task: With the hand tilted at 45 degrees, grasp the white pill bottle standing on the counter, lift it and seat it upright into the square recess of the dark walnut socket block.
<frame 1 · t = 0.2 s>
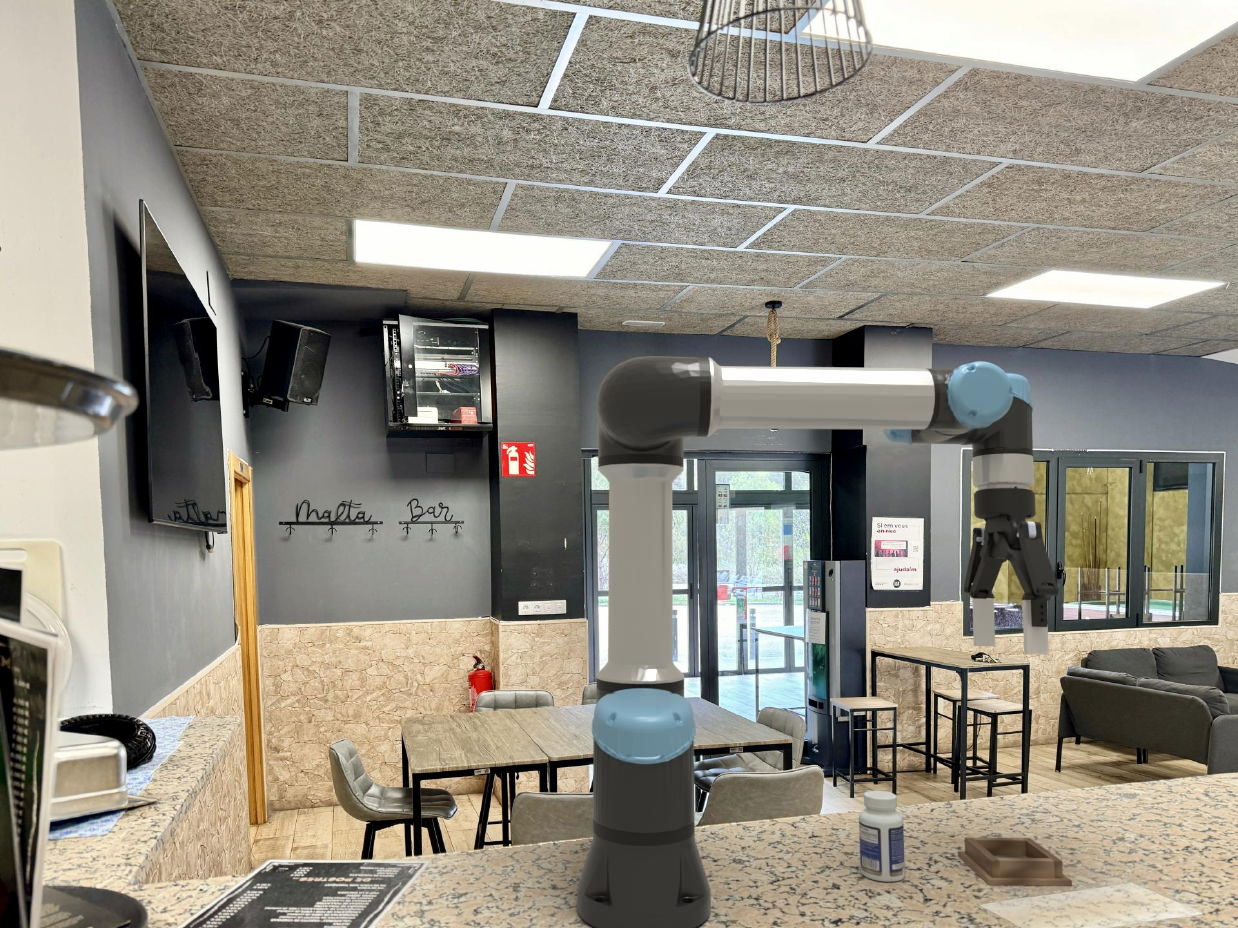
hand: (1008, 650, 112), 27 cm above the worktop, tool pointing down, fingers open, 13 cm apart
pill bottle: (882, 876, 107), on the worktop
socket block: (1012, 869, 108), on the worktop
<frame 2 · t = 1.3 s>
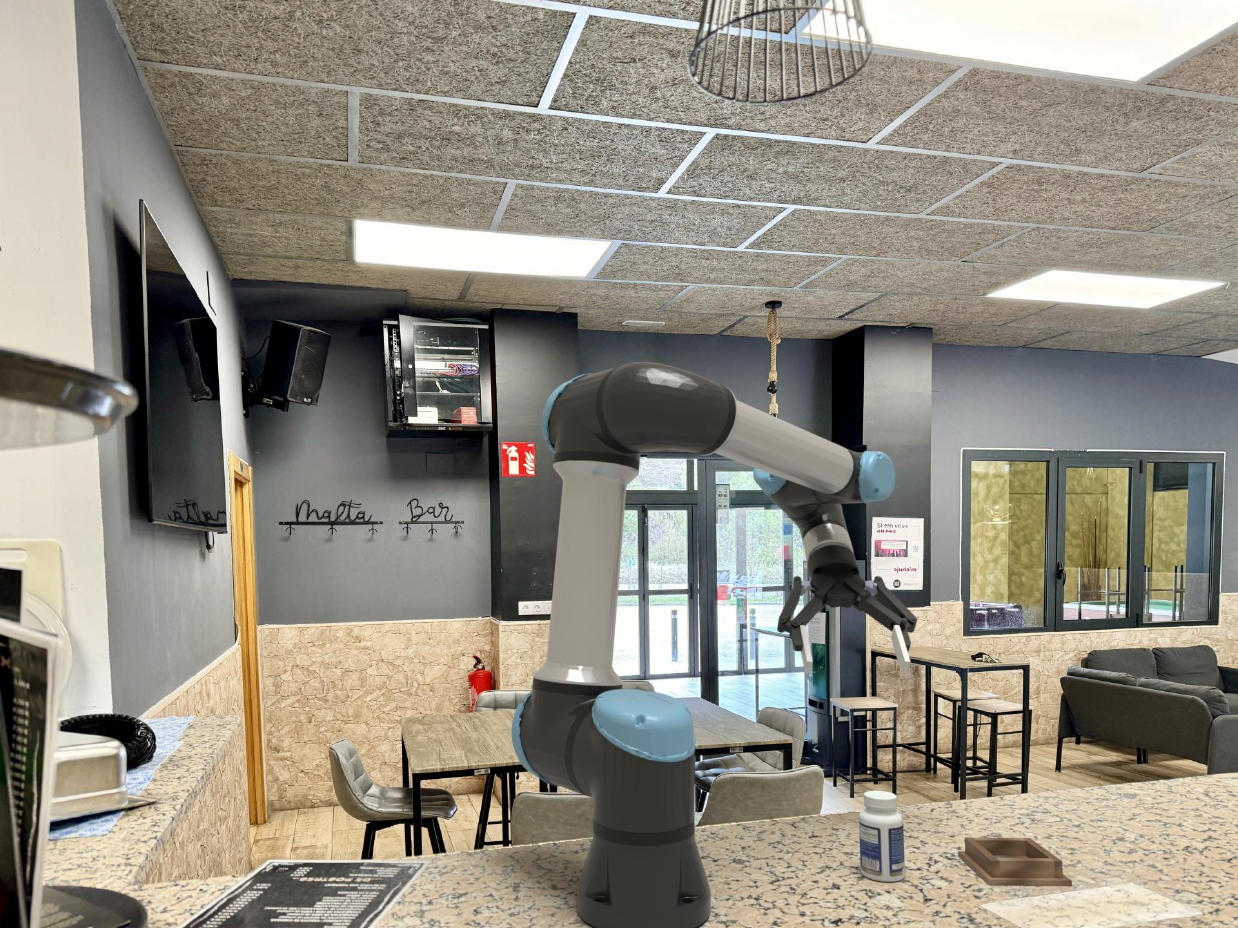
hand: (857, 667, 120), 24 cm above the worktop, tool tilted 45°, fingers open, 13 cm apart
nothing on the worktop moved.
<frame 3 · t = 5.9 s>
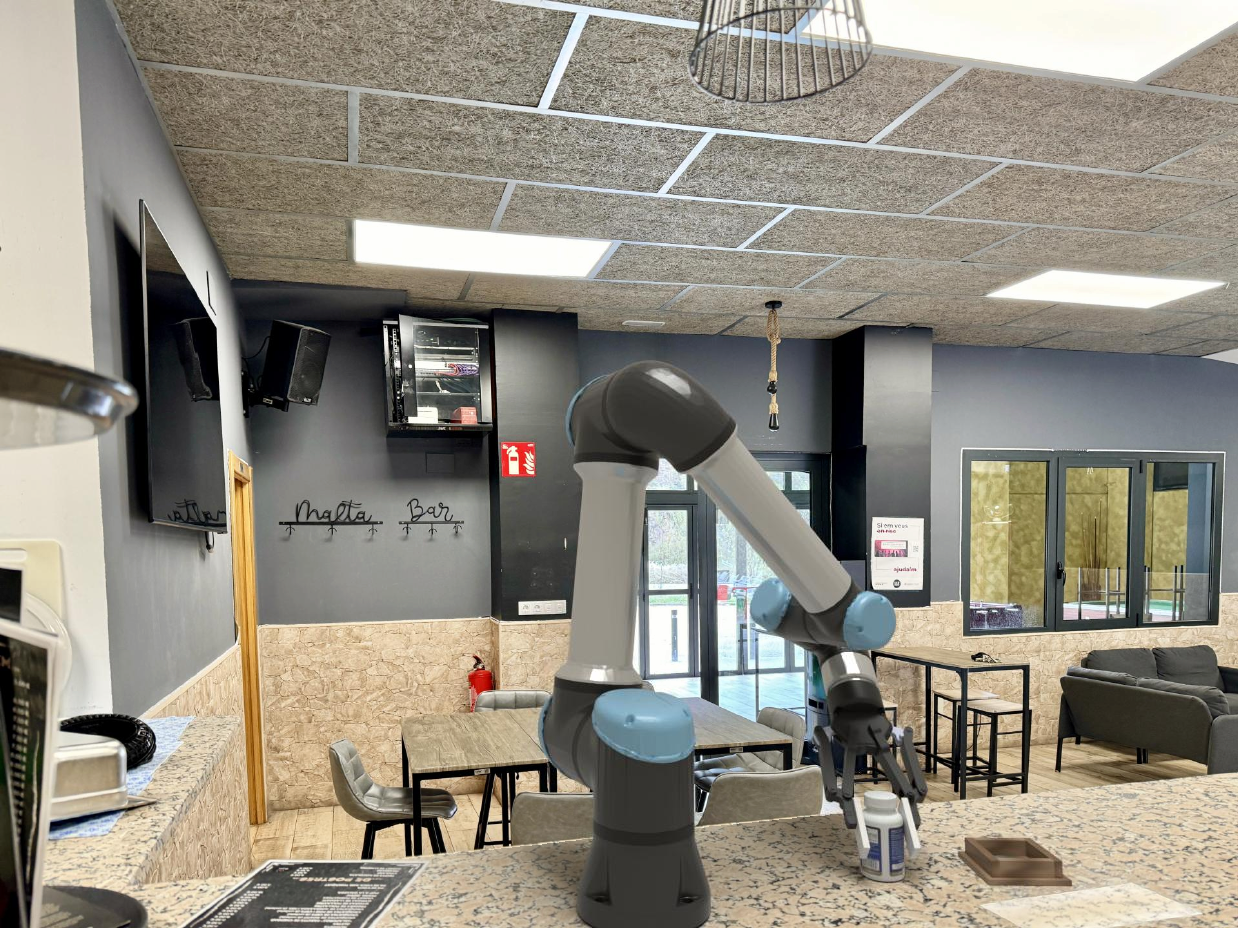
hand: (890, 852, 103), 4 cm above the worktop, tool tilted 45°, fingers closed on pill bottle, 5 cm apart
pill bottle: (882, 876, 106), on the worktop, touching gripper
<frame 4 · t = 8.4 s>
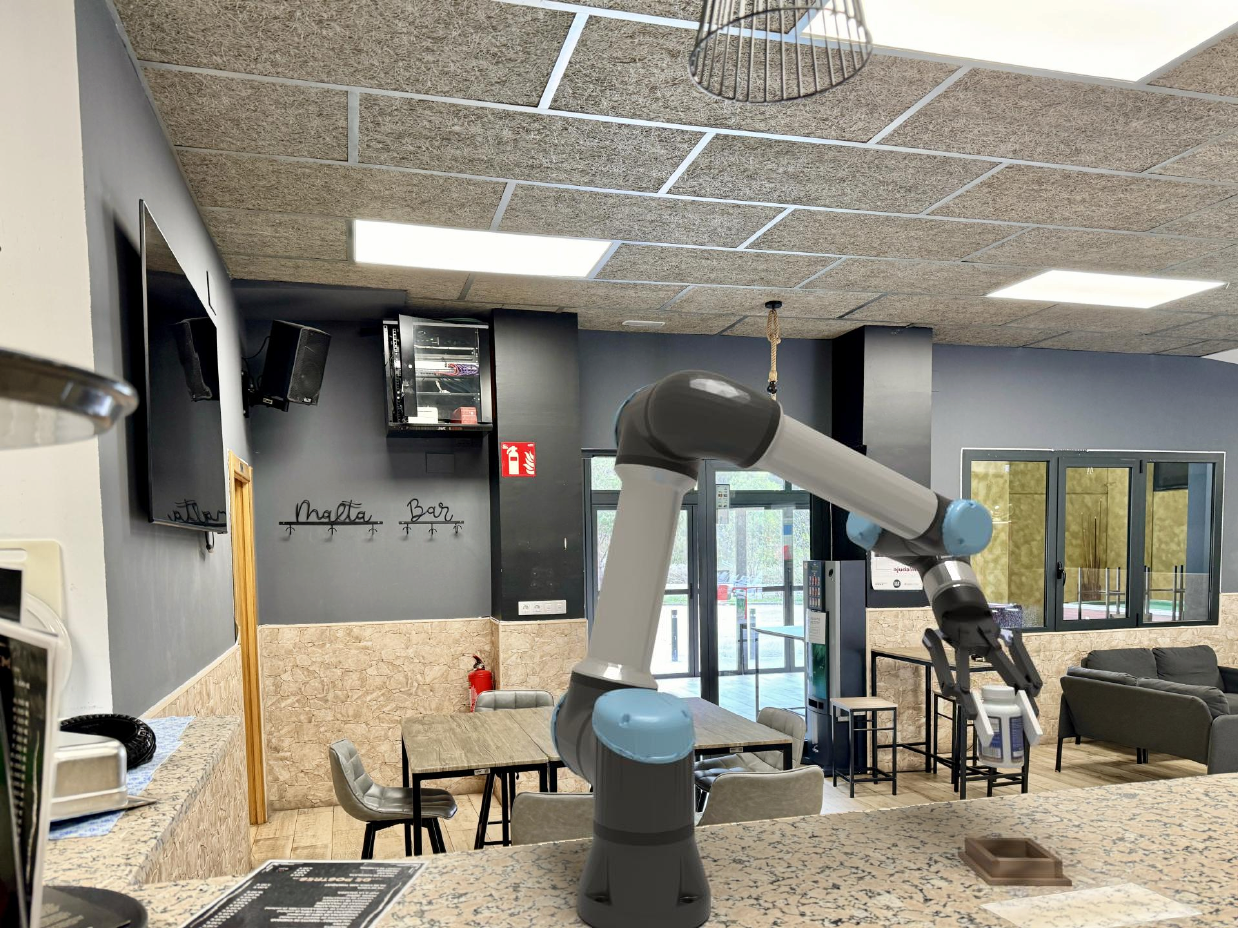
hand: (1012, 739, 106), 17 cm above the worktop, tool tilted 45°, fingers closed on pill bottle, 5 cm apart
pill bottle: (1001, 765, 110), point 13 cm above the worktop, touching gripper
when the fingers open (6 cm above the worktop, at t = 11.2 s): pill bottle stays where it is, resting on socket block.
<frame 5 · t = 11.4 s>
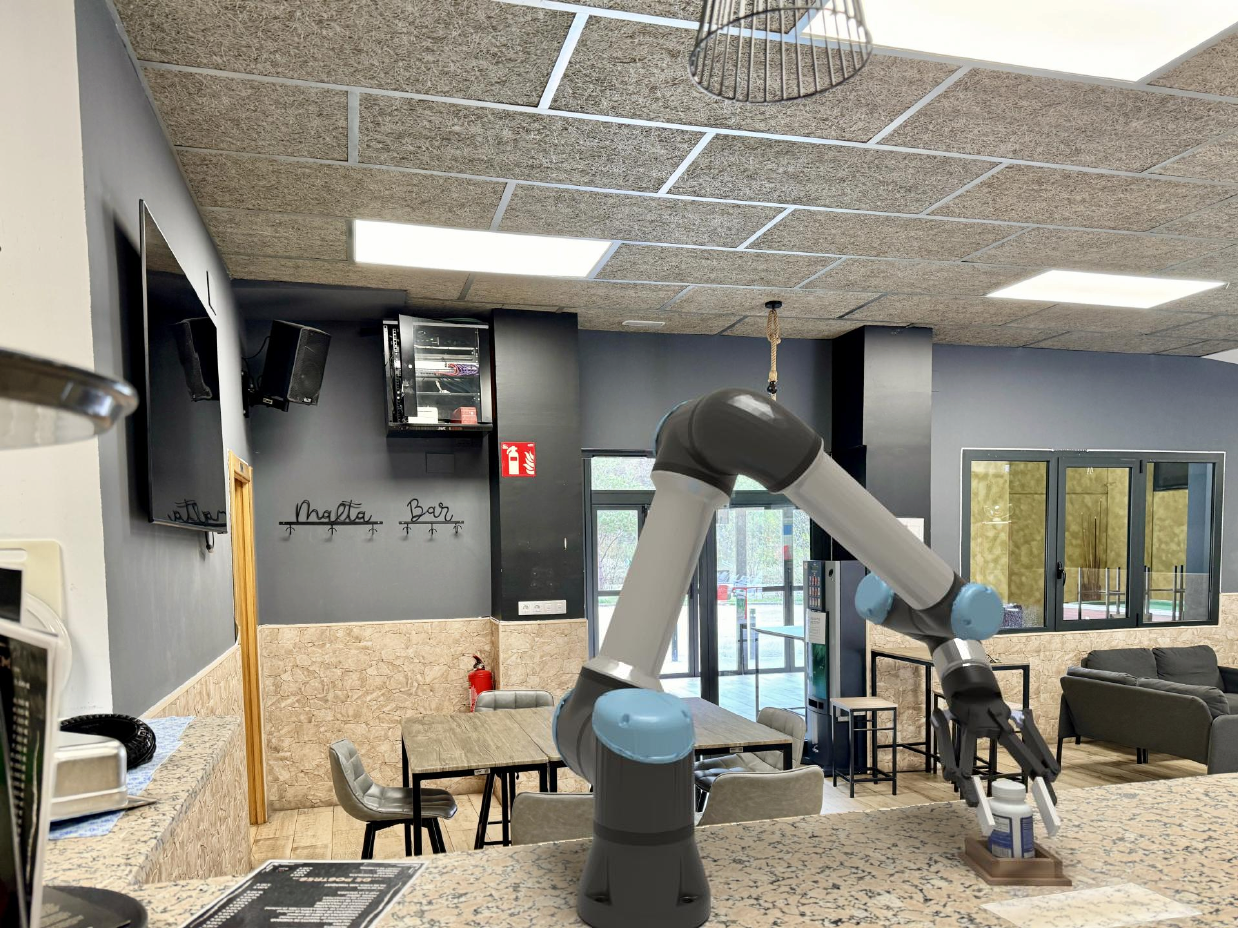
hand: (1022, 830, 105), 6 cm above the worktop, tool tilted 45°, fingers open, 7 cm apart
pill bottle: (1011, 864, 108), point 1 cm above the worktop, touching socket block
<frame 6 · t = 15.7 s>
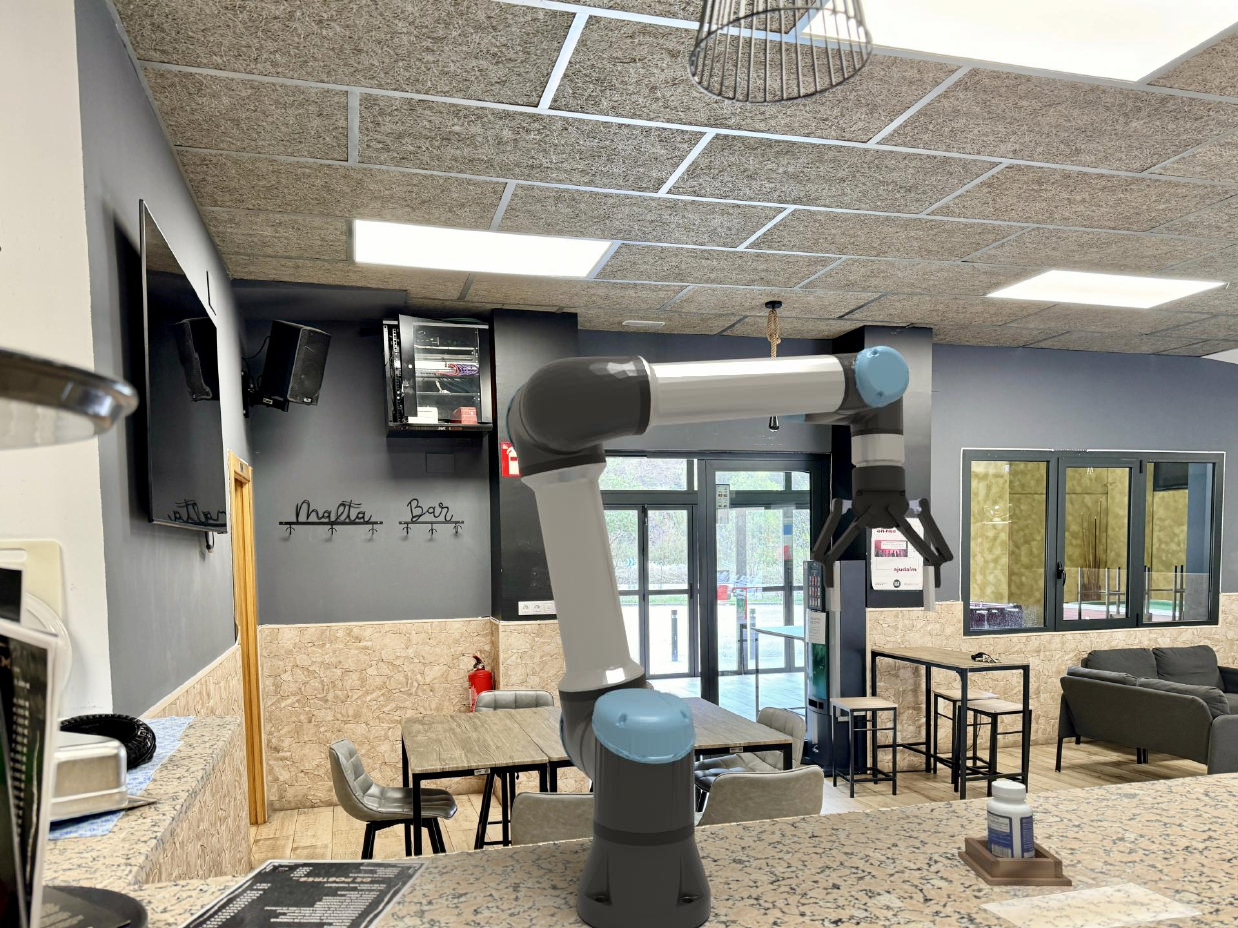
hand: (882, 611, 124), 32 cm above the worktop, tool pointing down, fingers open, 13 cm apart
nothing on the worktop moved.
at the end: pill bottle 0.1 cm off-centre on the socket block, point 0.6 cm above the socket block's base; pill bottle tilted 0°; the gripper is holding nothing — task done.
